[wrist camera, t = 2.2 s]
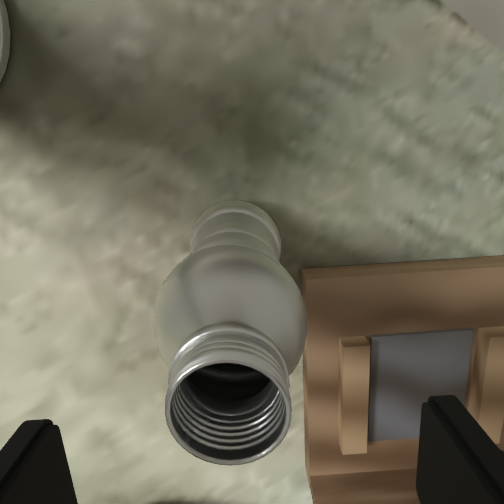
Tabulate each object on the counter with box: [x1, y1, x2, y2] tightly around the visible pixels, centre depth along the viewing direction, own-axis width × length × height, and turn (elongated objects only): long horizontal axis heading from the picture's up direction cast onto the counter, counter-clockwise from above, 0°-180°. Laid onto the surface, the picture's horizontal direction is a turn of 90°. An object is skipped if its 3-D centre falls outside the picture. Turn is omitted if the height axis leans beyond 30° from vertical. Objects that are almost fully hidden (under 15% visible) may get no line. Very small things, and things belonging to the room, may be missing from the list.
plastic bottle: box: [153, 200, 308, 465], centre depth 20 cm, size 6×7×20 cm
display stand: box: [301, 255, 504, 504], centre depth 26 cm, size 20×18×16 cm
